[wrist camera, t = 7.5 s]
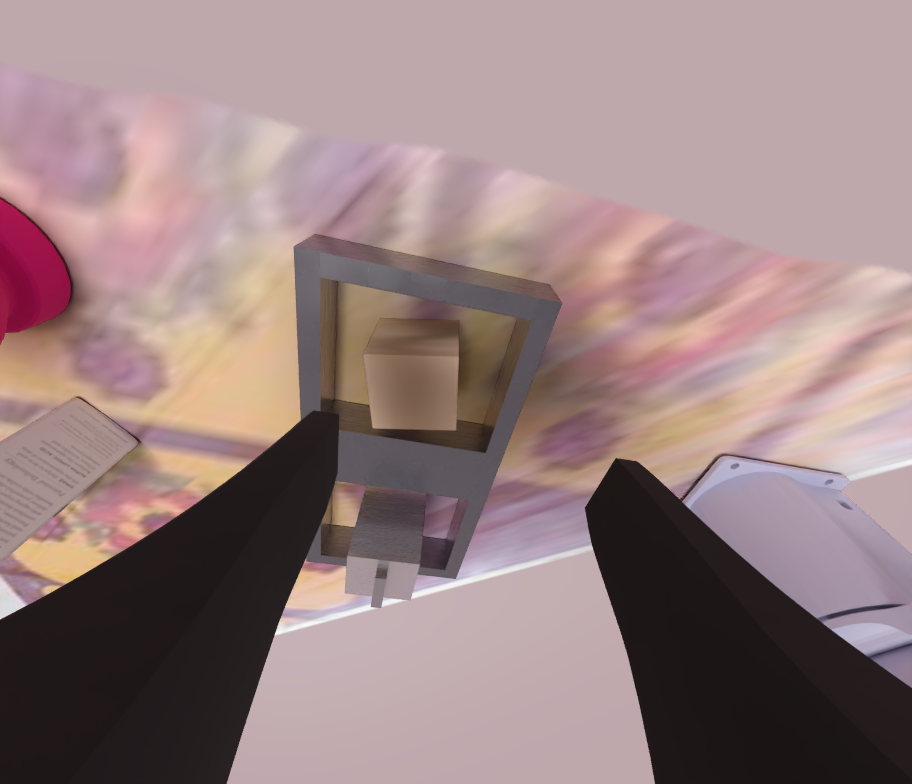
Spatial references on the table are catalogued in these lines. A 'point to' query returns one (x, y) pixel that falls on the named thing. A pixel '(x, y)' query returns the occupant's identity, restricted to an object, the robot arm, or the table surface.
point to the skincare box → (53, 467)
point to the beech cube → (413, 374)
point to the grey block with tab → (386, 545)
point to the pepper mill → (28, 274)
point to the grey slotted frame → (410, 450)
